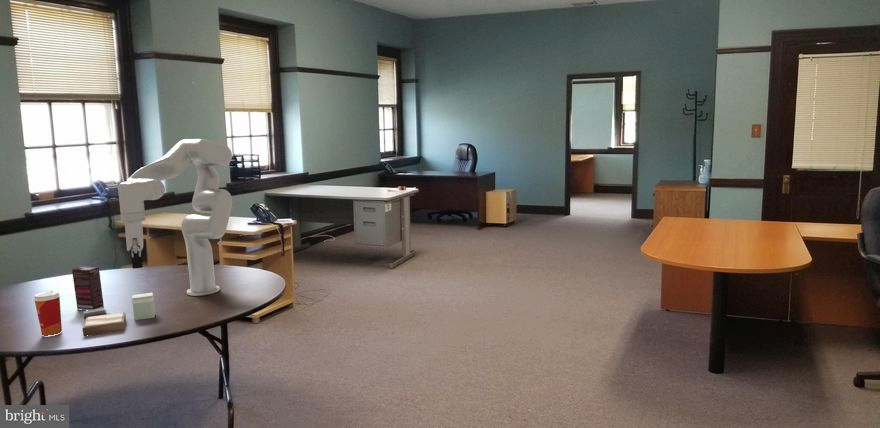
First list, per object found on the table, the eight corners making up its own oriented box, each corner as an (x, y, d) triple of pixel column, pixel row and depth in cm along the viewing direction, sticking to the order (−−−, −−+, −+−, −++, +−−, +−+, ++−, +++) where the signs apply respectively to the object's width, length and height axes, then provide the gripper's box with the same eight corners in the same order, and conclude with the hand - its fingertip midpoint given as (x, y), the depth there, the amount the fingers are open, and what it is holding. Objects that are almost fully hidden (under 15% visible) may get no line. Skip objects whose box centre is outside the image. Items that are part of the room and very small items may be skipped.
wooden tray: (87, 325, 218) (86, 316, 218) (126, 320, 223) (125, 311, 222) (83, 336, 207) (82, 327, 207) (124, 330, 212) (123, 321, 211)
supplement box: (104, 308, 239) (99, 267, 236) (94, 312, 234) (88, 270, 231) (87, 306, 241) (82, 265, 239) (76, 310, 237) (71, 269, 234)
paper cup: (46, 331, 214) (40, 291, 212) (69, 329, 215) (64, 289, 212) (33, 339, 206) (27, 297, 204) (58, 337, 207) (52, 296, 205)
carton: (134, 316, 227) (132, 295, 226) (155, 313, 229) (152, 292, 228) (134, 320, 223) (131, 298, 221) (154, 317, 225) (152, 295, 224)
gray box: (84, 321, 223) (82, 311, 223) (106, 317, 227) (105, 307, 226) (85, 324, 220) (83, 313, 219) (107, 320, 224) (106, 309, 223)
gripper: (122, 214, 226) (127, 261, 229) (119, 221, 211) (125, 271, 213) (145, 213, 229) (150, 259, 232) (144, 219, 214) (149, 268, 216)
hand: (138, 265), depth 223 cm, fingers open, 9 cm apart
